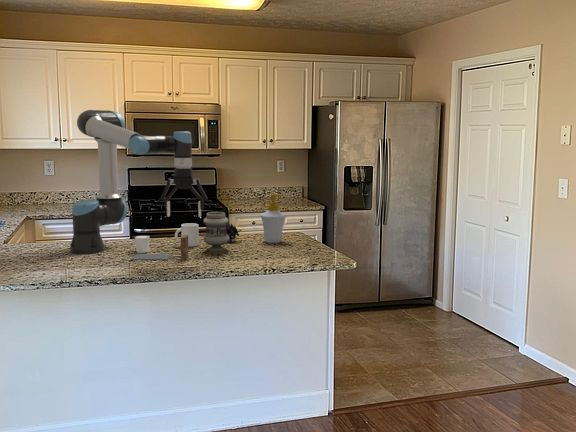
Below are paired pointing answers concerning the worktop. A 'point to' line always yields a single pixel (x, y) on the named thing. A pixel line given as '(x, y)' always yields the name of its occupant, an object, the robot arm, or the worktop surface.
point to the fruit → (232, 232)
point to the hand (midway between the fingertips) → (184, 216)
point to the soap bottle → (273, 222)
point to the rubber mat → (151, 257)
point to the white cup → (142, 243)
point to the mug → (189, 233)
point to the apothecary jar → (216, 231)
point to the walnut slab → (184, 247)
